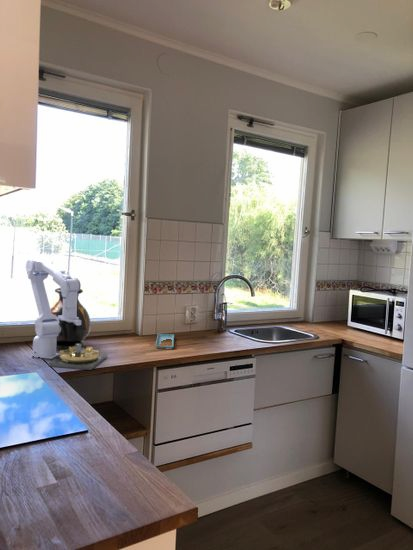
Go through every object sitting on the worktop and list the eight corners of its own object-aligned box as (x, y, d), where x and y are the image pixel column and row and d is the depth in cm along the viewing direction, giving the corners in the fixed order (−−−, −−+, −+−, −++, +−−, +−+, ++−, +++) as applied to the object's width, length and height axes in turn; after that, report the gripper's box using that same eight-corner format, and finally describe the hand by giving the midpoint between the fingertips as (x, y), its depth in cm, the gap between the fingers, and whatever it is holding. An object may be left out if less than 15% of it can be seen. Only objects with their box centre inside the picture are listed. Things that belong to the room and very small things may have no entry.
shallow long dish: (173, 350, 223) (173, 345, 222) (155, 349, 222) (155, 344, 222) (173, 338, 249) (174, 334, 248) (157, 338, 248) (157, 333, 248)
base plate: (48, 366, 183) (48, 362, 183) (68, 354, 203) (68, 350, 203) (91, 369, 181) (91, 365, 181) (106, 357, 201) (106, 353, 201)
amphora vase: (97, 349, 215) (99, 291, 213) (53, 354, 201) (55, 292, 199) (78, 339, 231) (80, 286, 229) (36, 343, 218) (38, 287, 216)
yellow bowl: (53, 360, 185) (53, 343, 184) (68, 351, 201) (69, 335, 200) (90, 364, 183) (91, 346, 183) (103, 354, 199) (104, 338, 199)
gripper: (88, 309, 184) (86, 341, 186) (68, 304, 194) (67, 335, 195) (73, 310, 179) (72, 343, 180) (53, 305, 188) (52, 337, 189)
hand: (68, 339), depth 187 cm, fingers open, 3 cm apart
